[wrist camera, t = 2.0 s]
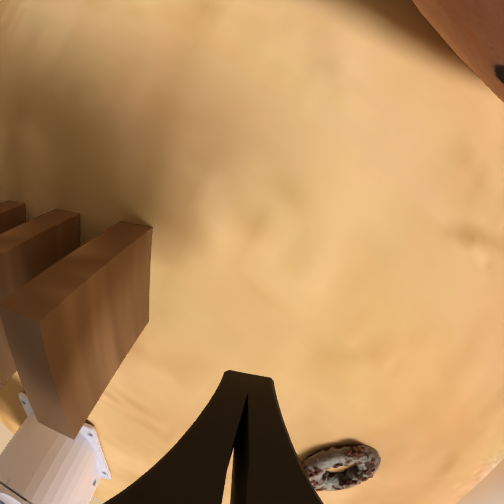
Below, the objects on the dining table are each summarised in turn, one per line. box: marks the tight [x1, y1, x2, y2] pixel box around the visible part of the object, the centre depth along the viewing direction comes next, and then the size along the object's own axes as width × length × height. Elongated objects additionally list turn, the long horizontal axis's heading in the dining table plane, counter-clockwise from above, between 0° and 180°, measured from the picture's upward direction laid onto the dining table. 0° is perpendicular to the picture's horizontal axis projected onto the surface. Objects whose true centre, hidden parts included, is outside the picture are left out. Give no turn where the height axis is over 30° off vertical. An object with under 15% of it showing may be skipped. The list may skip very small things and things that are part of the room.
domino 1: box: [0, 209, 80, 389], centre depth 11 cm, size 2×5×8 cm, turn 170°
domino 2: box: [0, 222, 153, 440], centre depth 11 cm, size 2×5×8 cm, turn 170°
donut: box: [301, 445, 381, 491], centre depth 19 cm, size 8×8×2 cm
